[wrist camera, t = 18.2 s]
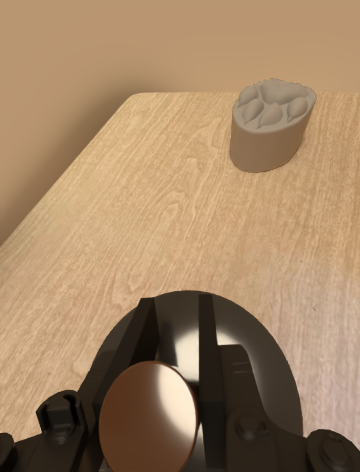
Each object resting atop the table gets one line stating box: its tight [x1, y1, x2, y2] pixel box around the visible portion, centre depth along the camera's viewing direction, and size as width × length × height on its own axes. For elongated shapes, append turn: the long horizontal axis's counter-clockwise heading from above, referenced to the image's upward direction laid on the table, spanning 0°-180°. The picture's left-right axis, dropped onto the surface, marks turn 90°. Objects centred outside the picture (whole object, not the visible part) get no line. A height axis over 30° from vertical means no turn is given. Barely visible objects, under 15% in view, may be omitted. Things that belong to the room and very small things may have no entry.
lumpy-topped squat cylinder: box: [230, 78, 316, 172], centre depth 36 cm, size 10×13×9 cm
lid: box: [91, 290, 303, 472], centre depth 10 cm, size 13×13×10 cm
